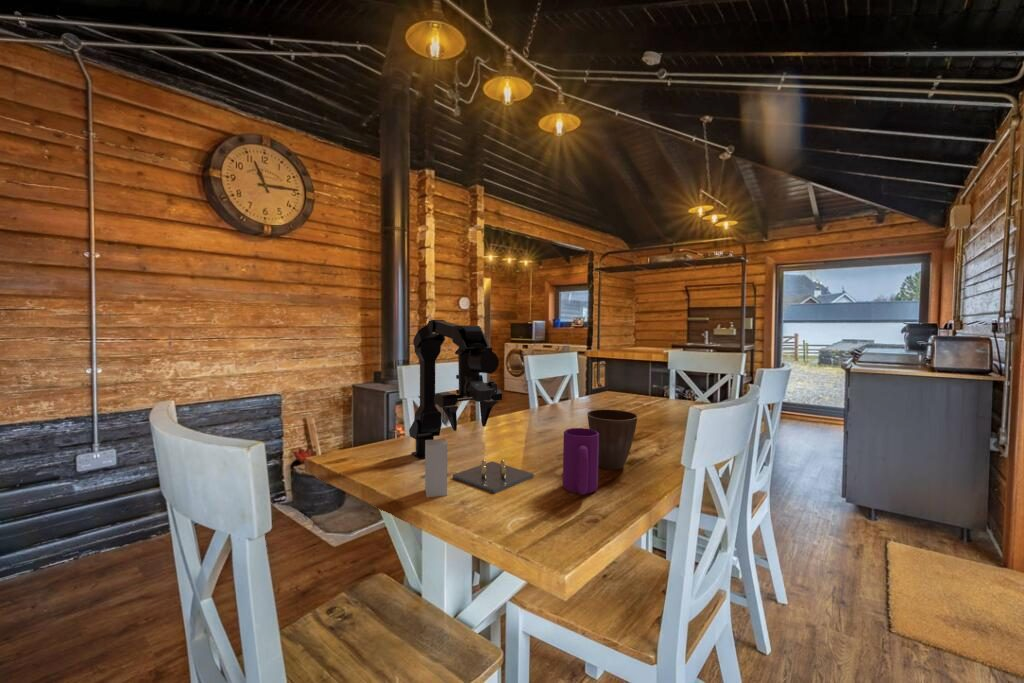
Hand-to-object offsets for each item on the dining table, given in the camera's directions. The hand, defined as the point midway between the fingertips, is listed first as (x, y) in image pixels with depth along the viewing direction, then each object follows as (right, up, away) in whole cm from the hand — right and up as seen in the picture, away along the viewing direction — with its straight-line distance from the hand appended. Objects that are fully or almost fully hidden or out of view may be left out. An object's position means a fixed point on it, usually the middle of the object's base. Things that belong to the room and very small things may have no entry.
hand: (469, 428), depth 119 cm
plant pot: (+42, -15, +14) cm, 47 cm away
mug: (+29, -15, -7) cm, 34 cm away
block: (-8, -15, -8) cm, 18 cm away
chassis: (+6, -14, +3) cm, 16 cm away
